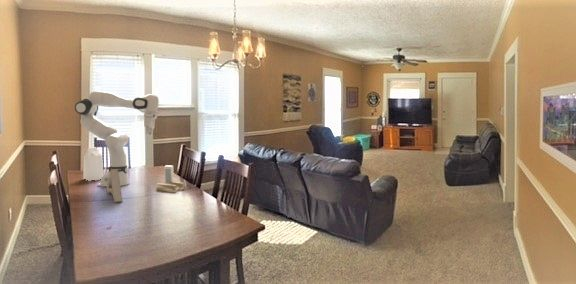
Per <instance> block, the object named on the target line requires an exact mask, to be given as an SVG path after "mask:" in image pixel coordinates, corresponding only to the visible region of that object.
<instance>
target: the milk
mask: <svg viewBox="0 0 576 284" xmlns="http://www.w3.org/2000/svg"><path fill="white" fill-rule="evenodd" d="M102 156H103V155H102V154H101V153H100V151H99V150H98V147H96V146H93V147H92V146H91V147H88V148H87V149H86V152H85V153H84V155H83V173H82V174H83V178H82V179H83V180H84V179H86V180H85V181H87V180H88V181H87V182H92V181H91V180H95V181H101V180H100V179H101V177H102V176H103V175H104V174H105V173H104V163H103V157H102Z"/></svg>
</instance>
